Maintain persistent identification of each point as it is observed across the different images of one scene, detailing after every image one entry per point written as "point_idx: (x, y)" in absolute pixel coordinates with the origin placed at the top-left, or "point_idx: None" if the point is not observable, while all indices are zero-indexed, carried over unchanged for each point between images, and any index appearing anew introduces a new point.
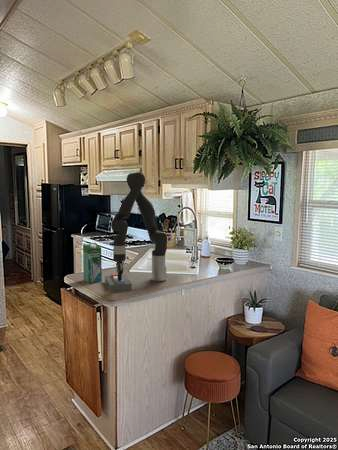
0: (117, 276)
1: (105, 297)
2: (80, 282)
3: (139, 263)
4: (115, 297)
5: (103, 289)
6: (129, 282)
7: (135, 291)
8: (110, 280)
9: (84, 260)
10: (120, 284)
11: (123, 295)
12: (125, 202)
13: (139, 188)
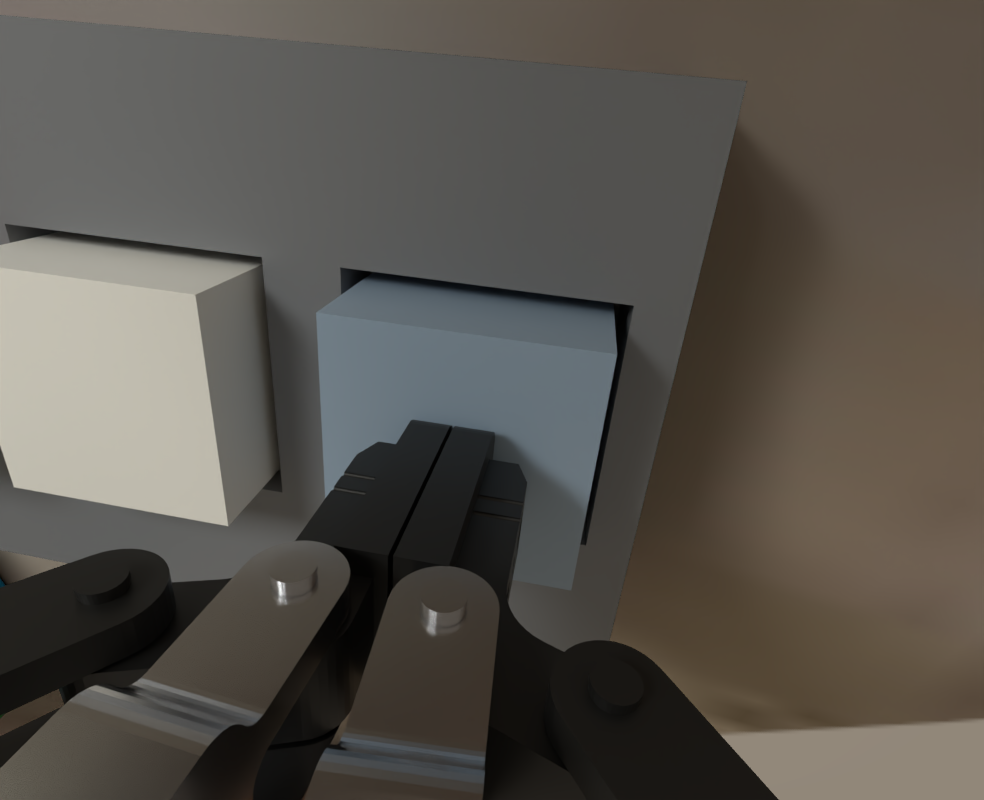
0: (25, 388)
1: (836, 701)
2: (3, 715)
3: None
4: (965, 586)
5: None
6: (536, 108)
7: (883, 7)
8: (192, 536)
9: None
10: (620, 450)
11: (967, 420)
12: None
13: None
